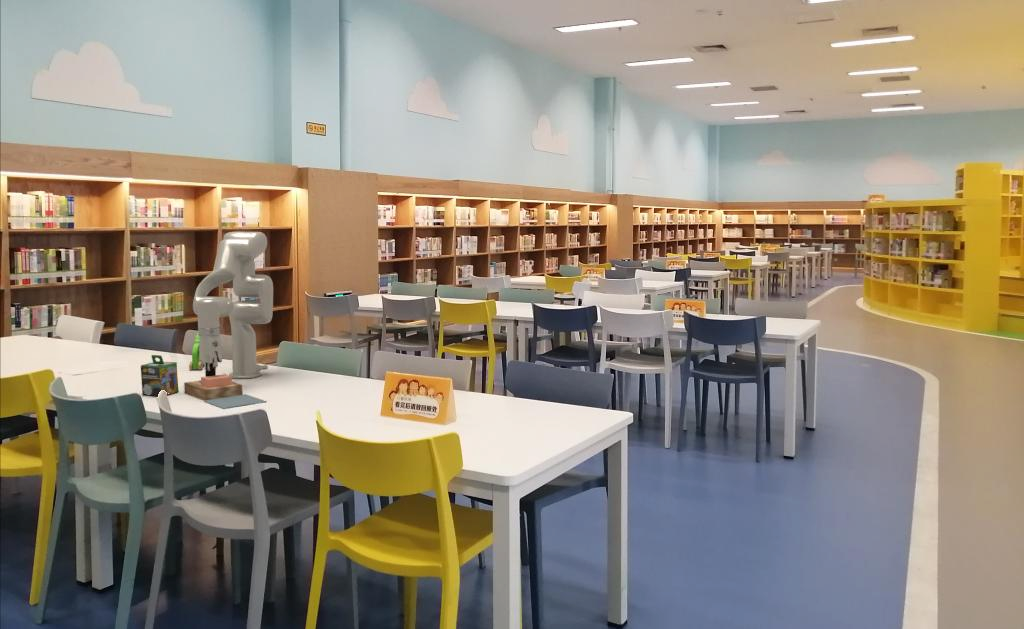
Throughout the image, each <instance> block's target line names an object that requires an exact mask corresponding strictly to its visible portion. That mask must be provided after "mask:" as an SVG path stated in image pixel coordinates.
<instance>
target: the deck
mask: <svg viewBox="0 0 1024 629" xmlns="http://www.w3.org/2000/svg"><path fill="white" fill-rule="evenodd" d="M183 386H184V394H186V395H189V396H192V397H193V398H197V399H200V400H202V401H205V400H211V399H218V398H224V397H231V396H237V395H243V384H241V383H238V382H235V381H232V385H225V386H218V387H211V388H207V387H205V386H202V385H201V379H200V380H193V381H187V382H186V381H185V382H183Z"/></svg>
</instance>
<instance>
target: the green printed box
mask: <svg viewBox="0 0 1024 629" xmlns="http://www.w3.org/2000/svg"><path fill="white" fill-rule="evenodd" d="M150 357H151V360H152V362H148V363H145V364H141V365H140V377H141V378H140V379H141V390H142V391H141V393H142V394H148V395H147V396H149V395H155V396H154V397H158V394H159V392H160V391H161V390H165V391H166V392H167V394H168V393H169V395H171V394H175V393H179V378H178V365H177V364H178V363H177V362H176V361H164V360H163V355H158V354H151V355H150ZM156 359H159V361H158V360H156Z"/></svg>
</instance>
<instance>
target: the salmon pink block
mask: <svg viewBox="0 0 1024 629" xmlns="http://www.w3.org/2000/svg"><path fill="white" fill-rule="evenodd" d="M200 380H201V385H202V386H205V387H207V388H211V387H218V386H225V385H232V382H233V378H232V376H229V374H225V373H224V374H217V375H215V376H207V377H206V376H201V377H200Z"/></svg>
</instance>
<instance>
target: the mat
mask: <svg viewBox="0 0 1024 629" xmlns="http://www.w3.org/2000/svg"><path fill="white" fill-rule="evenodd" d="M202 401H203V403H206V404H209V405H212V406H213V407H214V406H215V407H216V408H217V407H218V408H219V409H223V410H225V409H226V410H227V409H233V408H238V407H245V406H250V404H252V405H256V404H255V403H258V404H260V403H259V402H263V401H264V399H261V398H258V397H255V396H252V395H249V394H245V393H244V394H242V395H237V396H231V397H224V398H218V399H211V400H202Z"/></svg>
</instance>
